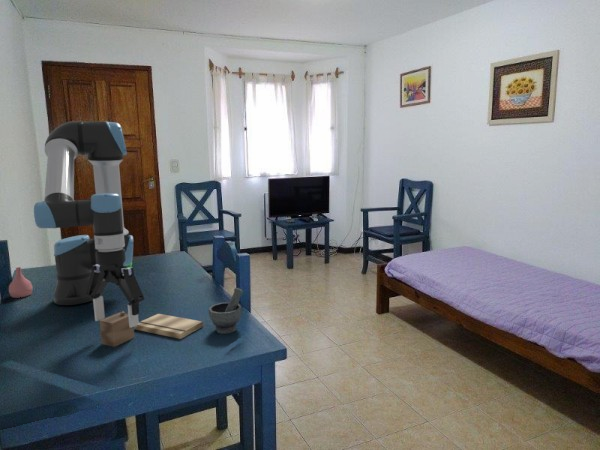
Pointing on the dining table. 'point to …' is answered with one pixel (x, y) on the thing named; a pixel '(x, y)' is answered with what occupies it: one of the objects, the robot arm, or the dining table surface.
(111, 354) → the dining table surface
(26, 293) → the pink teardrop-shaped piece
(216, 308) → the mortar and pestle
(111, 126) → the robot arm
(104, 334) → the wooden block
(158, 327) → the plank
